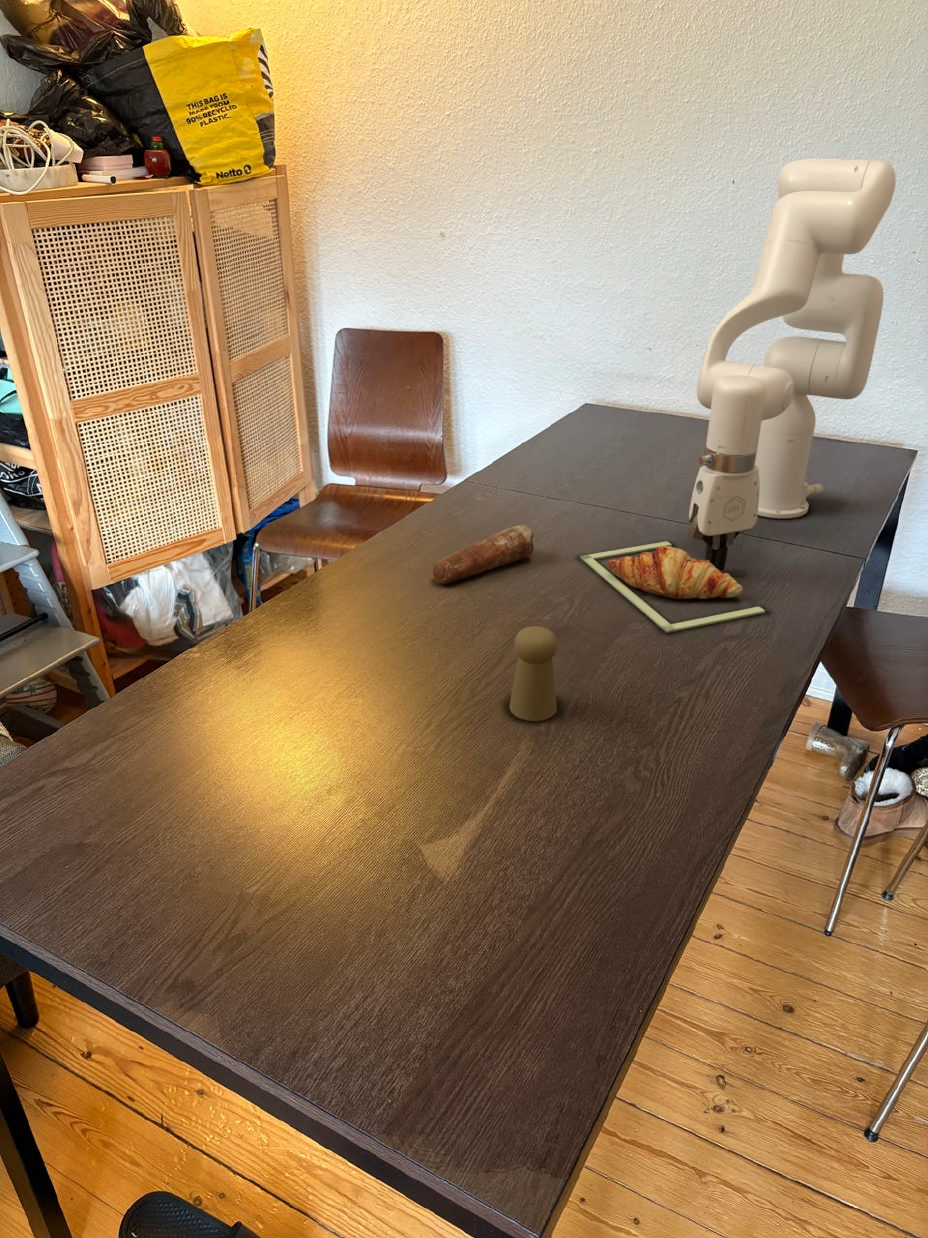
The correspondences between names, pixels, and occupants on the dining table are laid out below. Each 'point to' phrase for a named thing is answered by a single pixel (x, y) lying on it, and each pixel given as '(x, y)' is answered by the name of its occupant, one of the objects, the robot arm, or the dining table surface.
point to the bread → (485, 554)
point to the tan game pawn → (534, 675)
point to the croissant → (674, 575)
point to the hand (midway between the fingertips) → (714, 567)
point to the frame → (647, 609)
